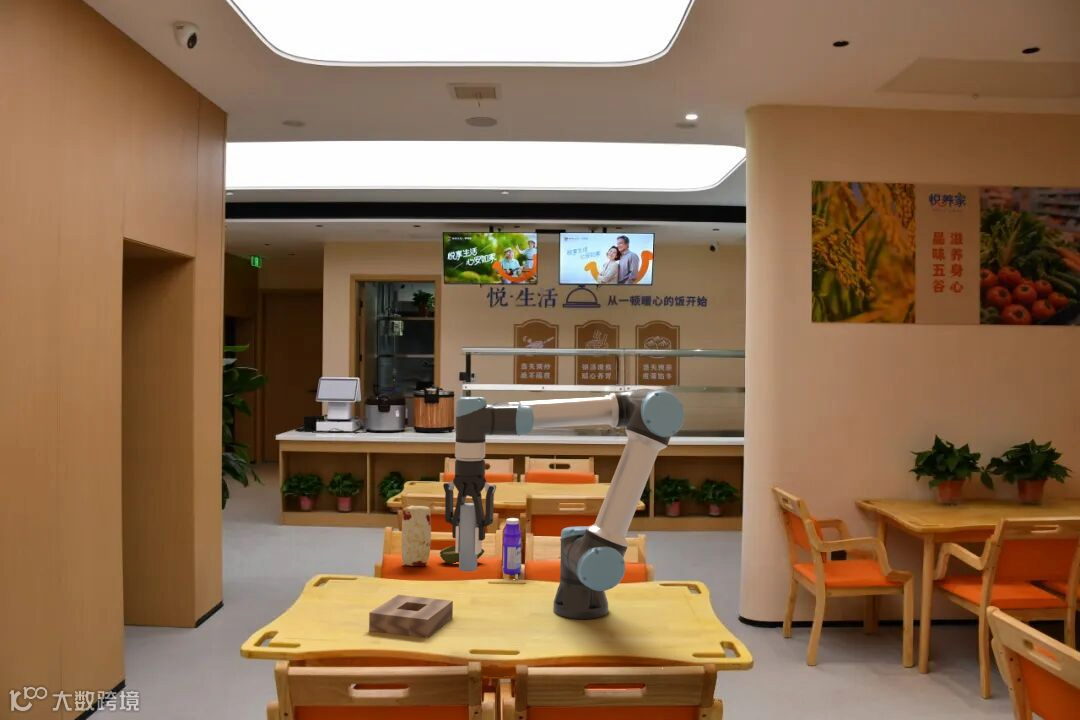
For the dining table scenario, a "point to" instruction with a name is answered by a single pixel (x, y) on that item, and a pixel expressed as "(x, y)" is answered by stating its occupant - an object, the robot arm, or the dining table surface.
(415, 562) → the food model
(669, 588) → the dining table surface
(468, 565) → the peg
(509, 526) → the bottle
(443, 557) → the fruit
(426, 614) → the socket block
